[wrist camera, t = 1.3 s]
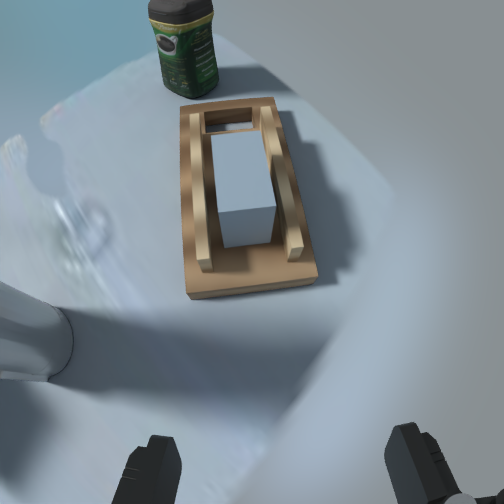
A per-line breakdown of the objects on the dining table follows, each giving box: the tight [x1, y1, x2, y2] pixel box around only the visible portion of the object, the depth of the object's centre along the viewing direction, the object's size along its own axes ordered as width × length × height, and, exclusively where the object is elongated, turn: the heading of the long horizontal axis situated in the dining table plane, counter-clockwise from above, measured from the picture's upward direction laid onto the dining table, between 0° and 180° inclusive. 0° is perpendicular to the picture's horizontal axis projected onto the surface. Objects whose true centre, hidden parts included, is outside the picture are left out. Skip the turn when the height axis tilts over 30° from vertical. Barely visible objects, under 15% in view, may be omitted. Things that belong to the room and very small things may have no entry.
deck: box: [180, 97, 318, 300], centre depth 37 cm, size 28×14×7 cm, turn 8°
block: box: [211, 131, 276, 248], centre depth 32 cm, size 9×5×8 cm, turn 8°
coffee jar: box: [148, 0, 219, 98], centre depth 40 cm, size 10×8×19 cm
